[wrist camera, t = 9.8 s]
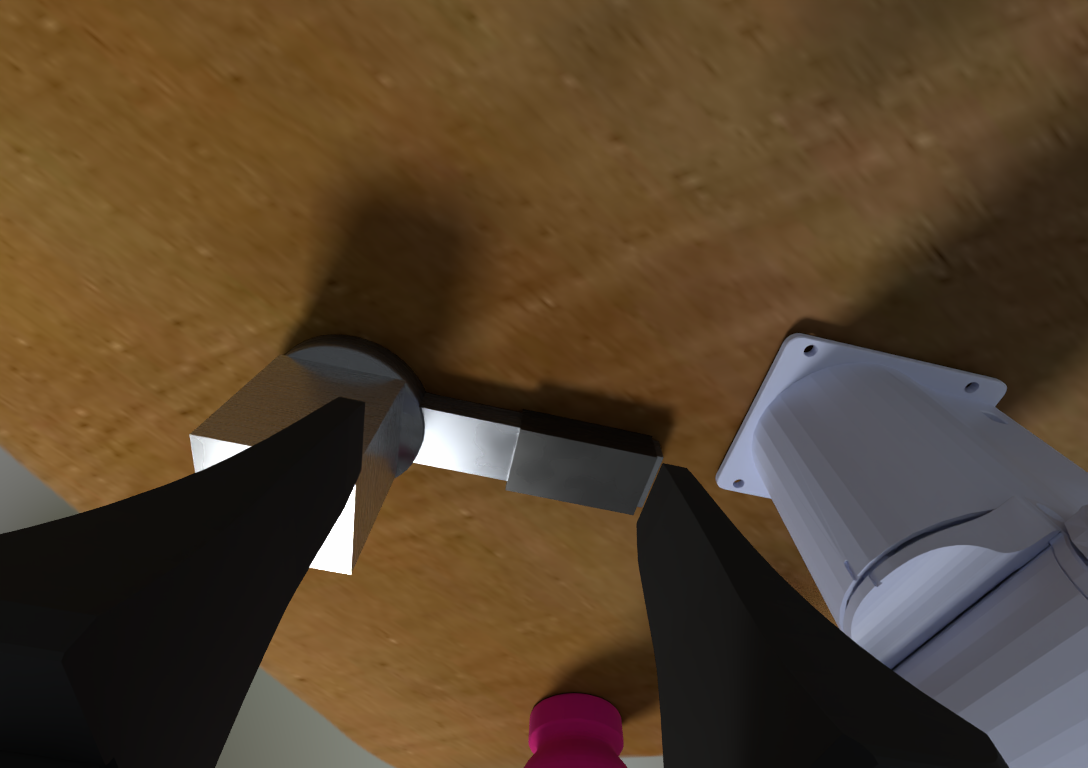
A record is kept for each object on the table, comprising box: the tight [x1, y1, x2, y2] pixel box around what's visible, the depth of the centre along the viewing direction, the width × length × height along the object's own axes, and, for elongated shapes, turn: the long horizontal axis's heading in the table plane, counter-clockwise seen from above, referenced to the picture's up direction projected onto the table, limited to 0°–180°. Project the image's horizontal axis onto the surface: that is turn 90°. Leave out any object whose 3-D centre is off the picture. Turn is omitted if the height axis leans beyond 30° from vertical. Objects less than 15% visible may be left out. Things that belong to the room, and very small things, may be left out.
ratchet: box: [286, 335, 663, 515], centre depth 21 cm, size 17×7×4 cm, turn 77°
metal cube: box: [190, 354, 406, 575], centre depth 19 cm, size 5×5×6 cm
